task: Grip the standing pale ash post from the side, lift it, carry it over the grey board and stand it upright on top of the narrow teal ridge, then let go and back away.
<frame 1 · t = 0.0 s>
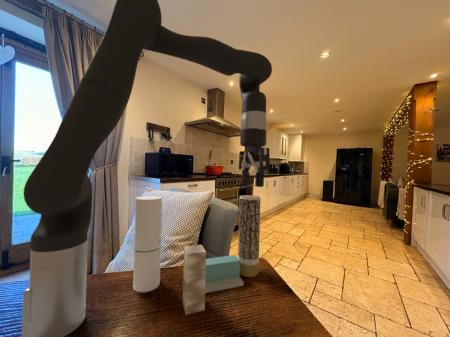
hand: (251, 185, 57), 29 cm above the table, tool pointing down, fingers open, 8 cm apart
ash post: (193, 306, 48), on the table
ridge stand: (213, 280, 59), on the table
cylindrical container: (146, 285, 57), on the table
bark log cylinder: (248, 273, 64), on the table
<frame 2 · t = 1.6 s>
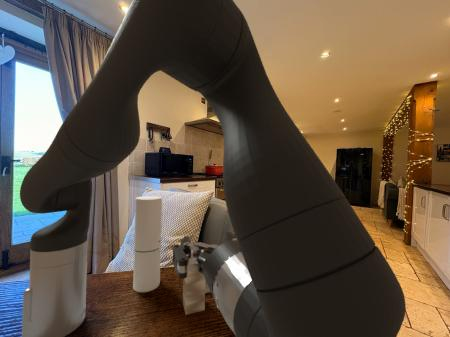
hand: (207, 239, 38), 20 cm above the table, tool horizontal, fingers open, 8 cm apart
nothing on the table moved.
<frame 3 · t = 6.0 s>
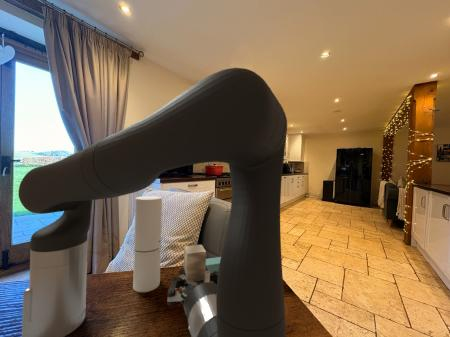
hand: (191, 270, 51), 8 cm above the table, tool horizontal, fingers closed on ash post, 4 cm apart
ash post: (193, 306, 48), on the table, touching gripper
everything else where it was.
when the fingers open (14 cm above the table, at t = 10.6 s): ash post stays where it is, resting on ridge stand.
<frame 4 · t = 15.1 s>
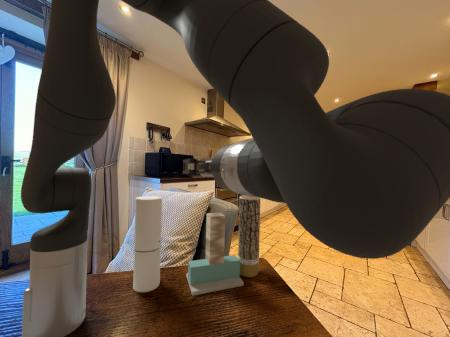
hand: (213, 167, 42), 34 cm above the table, tool horizontal, fingers open, 8 cm apart
ash post: (214, 260, 59), point 6 cm above the table, touching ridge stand
everything else where it was.
at the end: ash post inside the target area on the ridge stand (0.1 cm from its centre), point 6.0 cm above the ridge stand's base; ash post tilted 0°; the gripper is holding nothing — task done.
